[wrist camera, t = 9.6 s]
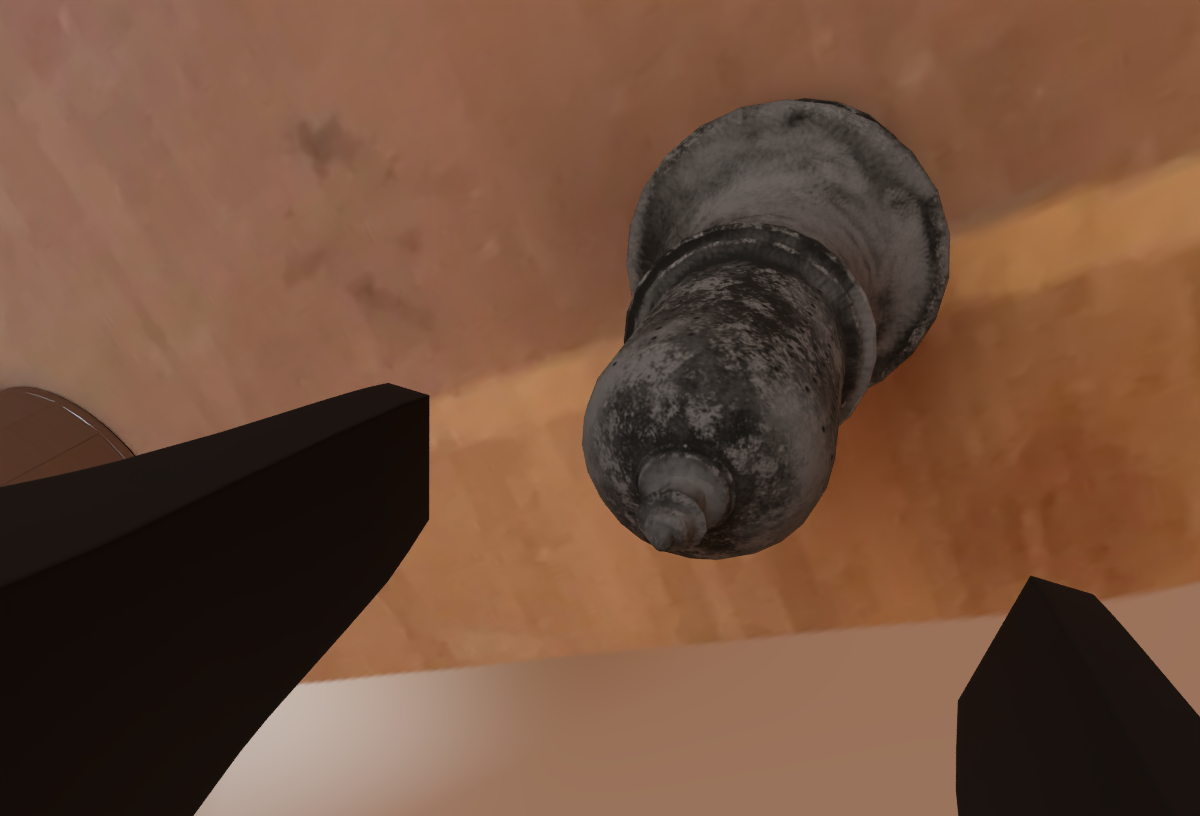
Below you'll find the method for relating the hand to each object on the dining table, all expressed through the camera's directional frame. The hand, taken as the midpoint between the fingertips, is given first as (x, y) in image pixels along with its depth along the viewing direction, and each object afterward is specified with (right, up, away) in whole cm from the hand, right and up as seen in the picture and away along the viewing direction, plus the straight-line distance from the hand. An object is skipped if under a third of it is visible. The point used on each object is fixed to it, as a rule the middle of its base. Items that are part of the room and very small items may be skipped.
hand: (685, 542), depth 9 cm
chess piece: (+3, +6, +8) cm, 10 cm away
